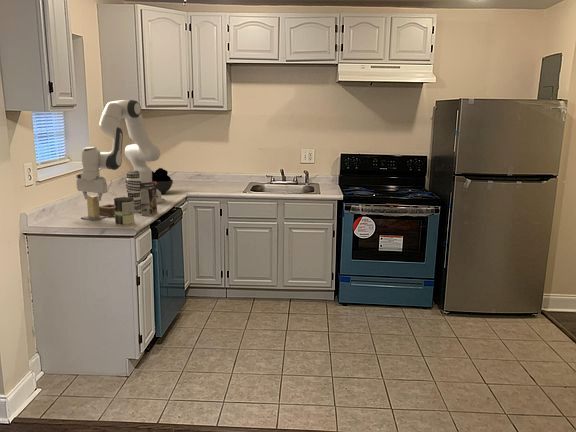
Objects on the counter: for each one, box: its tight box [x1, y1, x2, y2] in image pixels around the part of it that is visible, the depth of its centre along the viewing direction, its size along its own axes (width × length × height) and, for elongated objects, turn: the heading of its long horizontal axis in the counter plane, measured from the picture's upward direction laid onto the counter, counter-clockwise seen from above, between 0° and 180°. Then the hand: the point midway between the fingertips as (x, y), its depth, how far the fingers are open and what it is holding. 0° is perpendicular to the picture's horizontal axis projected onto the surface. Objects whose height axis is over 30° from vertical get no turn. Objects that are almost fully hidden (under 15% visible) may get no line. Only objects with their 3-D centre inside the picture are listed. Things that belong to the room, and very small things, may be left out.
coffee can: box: [113, 196, 136, 227], centre depth 277 cm, size 10×10×14 cm
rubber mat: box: [80, 215, 108, 222], centre depth 292 cm, size 10×10×1 cm
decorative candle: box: [125, 169, 141, 213], centre depth 312 cm, size 9×9×25 cm
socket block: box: [99, 203, 115, 218], centre depth 302 cm, size 11×11×5 cm
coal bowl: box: [151, 167, 174, 194], centre depth 377 cm, size 20×20×19 cm
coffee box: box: [140, 187, 158, 217], centre depth 303 cm, size 9×6×16 cm
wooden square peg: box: [86, 195, 100, 218], centre depth 291 cm, size 4×4×12 cm
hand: (92, 199), depth 290 cm, fingers open, 8 cm apart
